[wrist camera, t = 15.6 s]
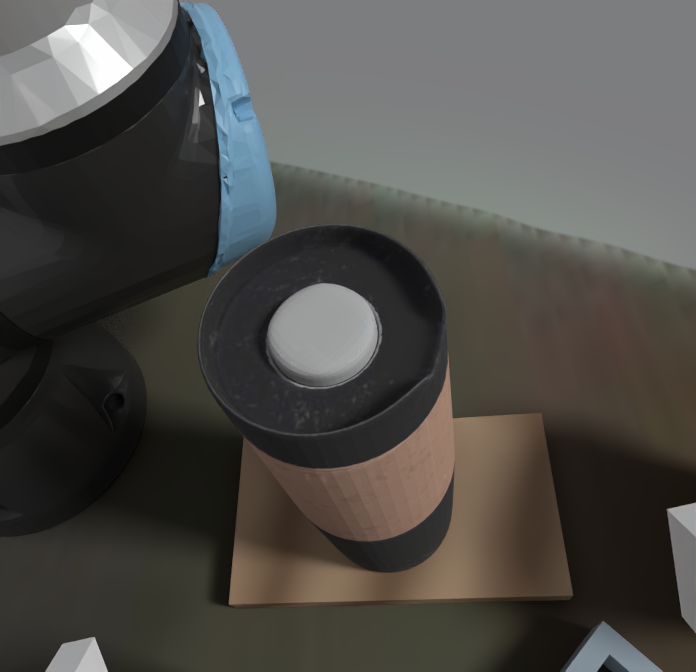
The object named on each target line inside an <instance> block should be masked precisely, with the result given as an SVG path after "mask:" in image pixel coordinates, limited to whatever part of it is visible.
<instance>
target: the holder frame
mask: <svg viewBox="0 0 696 672" xmlns="http://www.w3.org/2000/svg"><path fill="white" fill-rule="evenodd" d="M602 664H604V665H605V666H606V667H607V668H608V669H609V670H610V671H612V672H663V671H662V670H660V669H659V668H658V667H657V666H656V665H655V664H653V663H652V662H651V661H650V660H649V659H648V658H646V657H645V656H644V655H643V654H642V653H641V652H639V651H638V650H637V649H636V648H635V647H633V646H632V645H631V644H630V643H629V642H628V641H626V640H625V639H624V638H623V637H622V636H621V635H619V634H618V633H617V632H616V631H615V630H614V629H612V628H611V627H610V626H609V625H608V624H606V623H605V622H604V621H602V622H600V623H599V624H598V625H596V626H595V627H593V628H592V629H591V630H590V632H589V633H588V634H587V636H586V637H585V638H584V640H583V641H582V642H581V644H580V645H579V646H578V648H577V649H576V650H575V652H574V653H573V654H572V656H571V657H570V658H569V660H568V661H567V662H566V664H565V665H564V666H563V668H562V669H561V670H560V672H597V671H598V669H599V668H600V667H601V665H602Z"/></svg>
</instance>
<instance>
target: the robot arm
mask: <svg viewBox="0 0 696 672" xmlns="http://www.w3.org/2000/svg"><path fill="white" fill-rule="evenodd" d="M275 221H276V198H275V190H274V183H273V177H272V172H271V167H270V163H269V158H268V154H267V150H266V145H265V141H264V138H263V134H262V131H261V127H260V124H259V121H258V118H257V117H256V115H255V113H254V112H253V110H252V100H251V98H250V94H249V89H248V86H247V80H246V77H245V74H244V72H243V69H242V66H241V63H240V60H239V58H238V55H237V53H236V50H235V48H234V45H233V43H232V40H231V38H230V36H229V34H228V32H227V30H226V28H225V26H224V24H223V22H222V21H221V19H220V17H219V16H218V14H217V13H216V11H215V10H214V9H213V8H211V7H210V6H209V5H207V4H205V3H195V4H192V3H190V2H187V3H186V4H184V2H181V3H179V0H0V536H19V535H26V534H31V533H35V532H38V531H42V530H45V529H47V528H50V527H52V526H55V525H57V524H59V523H61V522H63V521H65V520H67V519H69V518H70V517H72V516H74V515H75V514H77V513H78V512H80V511H81V510H83V509H84V508H86V507H87V506H88V505H89V504H91V503H92V502H93V501H94V500H95V499H97V498H98V497H99V496H100V495H101V494H102V493H103V492H104V491H105V490H106V489H107V488H108V487H109V486H110V485H111V484H112V482H113V481H114V480H115V479H116V477H117V476H118V475H119V474H120V472H121V471H122V469H123V468H124V466H125V465H126V463H127V462H128V460H129V458H130V457H131V455H132V453H133V451H134V449H135V447H136V445H137V442H138V440H139V437H140V434H141V431H142V428H143V424H144V419H145V414H146V387H145V382H144V378H143V375H142V372H141V370H140V368H139V366H138V364H137V362H136V360H135V359H134V358H133V356H132V355H131V354H130V353H129V351H128V350H127V349H126V348H125V347H124V346H123V345H122V344H121V343H120V342H119V341H118V340H117V338H115V337H114V336H113V335H112V334H111V333H110V332H108V331H107V330H106V329H104V328H103V327H101V326H99V325H97V324H95V323H93V322H95V321H97V320H100V319H102V318H105V317H107V316H110V315H112V314H115V313H117V312H120V311H122V310H125V309H127V308H130V307H132V306H135V305H137V304H140V303H142V302H145V301H147V300H150V299H152V298H155V297H157V296H159V295H162V294H164V293H167V292H169V291H172V290H174V289H177V288H179V287H182V286H184V285H187V284H189V283H192V282H194V281H197V280H199V279H202V278H207V277H210V276H212V275H214V274H216V273H217V272H218V271H219V270H220V268H222V267H224V266H226V265H228V264H230V263H232V262H234V261H236V260H238V259H240V258H241V257H243V256H244V255H245V254H246V253H248V252H249V251H250V250H252V249H253V248H255V247H257V246H258V245H260V244H261V243H263V242H265V241H267V240H268V239H269V238H270V236H271V234H272V232H273V229H274V226H275ZM667 514H668V521H669V528H670V535H671V542H672V550H673V557H674V564H675V571H676V578H677V585H678V592H679V600H680V607H681V614H682V617H683V618H684V619H685V621H686V622H687V623H688V624H689V626H690V627H691V628H692V629H693V631H694V632H695V633H696V503H692V504H688V505H683V506H679V507H674V508H670V509H667ZM45 672H108V671H107V668H106V666H105V663H104V660H103V658H102V655H101V653H100V650H99V647H98V645H97V642H96V640H95V637H91V638H87V639H82V640H78V641H73V642H69V643H64V644H62V645H61V647H60V649H59V650H58V652H57V653H56V655H55V657H54V658H53V660H52V662H51V663H50V665H49V666H48V668H47V670H46V671H45Z"/></svg>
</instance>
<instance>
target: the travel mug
mask: <svg viewBox="0 0 696 672" xmlns="http://www.w3.org/2000/svg"><path fill="white" fill-rule="evenodd" d="M446 318H447V313H446V305H445V300H444V297H443V295H442V292H441V290H440V288H439V285H438V283H437V281H436V280H435V278H434V276H433V274H432V273H431V271H430V270H429V268H428V267H427V266H426V265H425V263H424V262H423V261H422V260H421V259H420V258H419V257H418V256H417V255H416V254H415V253H414V252H413V251H412V250H411V249H410V248H408V247H407V246H406V245H404V244H403V243H402V242H400V241H399V240H397V239H395V238H393V237H391V236H390V235H387V234H385V233H382V232H380V231H378V230H375V229H371V228H367V227H364V226H358V225H351V224H337V223H332V224H318V225H312V226H306V227H302V228H298V229H294V230H291V231H288V232H285V233H282V234H280V235H277V236H275V237H273V238H271V239H269V240H267V241H265V242H263V243H261V244H260V245H258V246H257V247H255V248H253V249H252V250H250V251H249V252H248V253H246V254H245V255H244V256H243V257H241V258H240V259H239V260H238V261H237V262H236V263H235V264H234V265H233V266H231V267H230V268H229V270H228V271H227V272H226V273H225V274H224V275H223V277H222V278H221V279H220V280H219V282H218V283H217V285H216V286H215V288H214V289H213V291H212V293H211V295H210V297H209V299H208V301H207V303H206V305H205V308H204V310H203V313H202V316H201V320H200V325H199V330H198V343H197V347H198V359H199V363H200V367H201V371H202V374H203V377H204V379H205V382H206V384H207V386H208V388H209V390H210V392H211V393H212V395H213V397H214V398H215V400H216V401H217V403H218V404H219V406H220V407H221V408H222V410H223V411H224V412H225V413H226V415H227V416H228V417H229V419H230V420H231V421H232V423H233V424H234V425H235V426H236V428H237V429H238V430H239V432H240V433H241V434H242V435H243V437H244V438H245V439H246V441H247V442H248V443H249V444H250V446H251V447H252V448H253V450H254V451H255V452H256V454H257V455H258V456H259V457H260V459H261V460H262V461H263V463H264V464H265V465H266V467H267V468H268V469H269V470H270V472H271V473H272V474H273V476H274V477H275V478H276V479H277V481H278V482H279V483H280V485H281V486H282V487H283V489H284V490H285V491H286V492H287V494H288V495H289V496H290V498H291V499H292V500H293V501H294V503H295V504H296V505H297V507H298V508H299V509H300V510H301V511H302V513H303V514H304V515H305V516H306V517H307V518H308V519H309V520H310V521H311V523H312V524H313V525H314V526H315V527H316V528H317V529H318V530H319V531H320V532H321V533H322V534H323V535H324V536H325V537H326V538H327V539H328V540H329V541H330V542H331V543H332V544H333V545H334V546H335V547H336V548H337V549H338V550H339V551H340V552H341V553H343V554H344V555H345V556H346V557H347V558H348V559H350V560H351V561H353V562H354V563H356V564H357V565H359V566H361V567H363V568H365V569H369V570H372V571H376V572H383V573H393V572H400V571H405V570H408V569H411V568H413V567H416V566H417V565H419V564H421V563H423V562H424V561H425V560H427V559H428V558H429V557H430V556H431V555H432V554H433V553H434V552H435V551H436V550H437V549H438V548H439V546H440V545H441V544H442V542H443V540H444V538H445V537H446V534H447V532H448V529H449V526H450V522H451V516H452V507H453V490H454V469H455V446H454V432H453V417H452V403H451V389H450V375H449V361H448V346H447V331H446Z"/></svg>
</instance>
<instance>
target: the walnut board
mask: <svg viewBox="0 0 696 672" xmlns="http://www.w3.org/2000/svg"><path fill="white" fill-rule="evenodd" d="M453 432H454V446H455V469H454V490H453V507H452V516H451V522H450V526H449V529H448V532H447V534H446V537H445V538H444V540H443V542H442V544H441V545H440V546H439V548H438V549H437V550H436V551H435V552H434V553H433V554H432V555H431V556H430V557H429V558H428V559H427V560H425V561H424V562H423V563H421V564H419V565H417V566H416V567H413V568H411V569H408V570H405V571H400V572H393V573H383V572H376V571H372V570H369V569H365V568H363V567H361V566H359V565H357V564H356V563H354V562H353V561H351V560H350V559H348V558H347V557H346V556H345V555H344V554H343V553H341V552H340V551H339V550H338V549H337V548H336V547H335V546H334V545H333V544H332V543H331V542H330V541H329V540H328V539H327V538H326V537H325V536H324V535H323V534H322V533H321V532H320V531H319V530H318V529H317V528H316V527H315V526H314V525H313V524H312V523H311V521H310V520H309V519H308V518H307V517H306V516H305V515H304V514H303V513H302V511H301V510H300V509H299V508H298V507H297V505H296V504H295V503H294V501H293V500H292V499H291V498H290V496H289V495H288V494H287V492H286V491H285V490H284V489H283V487H282V486H281V485H280V483H279V482H278V481H277V479H276V478H275V477H274V476H273V474H272V473H271V472H270V470H269V469H268V468H267V467H266V465H265V464H264V463H263V461H262V460H261V459H260V457H259V456H258V455H257V454H256V452H255V451H254V450H253V448H252V447H251V446H250V444H249V443H248V442H247V441H246V439H245V438H244V439H243V451H242V462H241V473H240V484H239V495H238V506H237V517H236V529H235V540H234V551H233V562H232V573H231V584H230V595H229V605H231V606H233V607H235V608H237V609H241V608H280V607H319V606H358V605H397V604H436V603H475V602H514V601H553V600H570V598H571V597H572V596H573V591H572V586H571V580H570V574H569V568H568V563H567V557H566V551H565V546H564V540H563V534H562V528H561V523H560V517H559V511H558V506H557V500H556V494H555V488H554V483H553V477H552V471H551V465H550V460H549V454H548V448H547V443H546V437H545V431H544V425H543V420H542V414H541V413H531V414H515V415H499V416H484V417H468V418H453Z"/></svg>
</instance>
